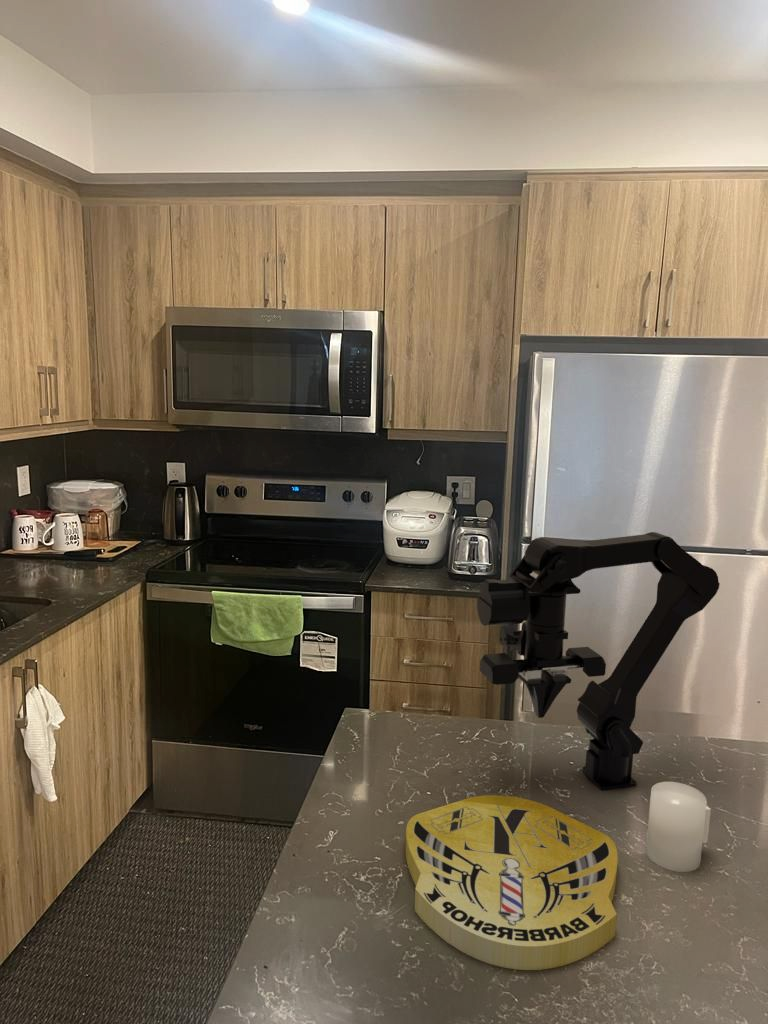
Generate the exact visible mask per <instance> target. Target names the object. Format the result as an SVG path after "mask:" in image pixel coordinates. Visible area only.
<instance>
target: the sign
mask: <svg viewBox="0 0 768 1024" xmlns="http://www.w3.org/2000/svg"><path fill="white" fill-rule="evenodd" d="M405 830H406V831H405V859H406V864H407V867H408V871H409V873H410V875H411V876H410V877H411V879H412V881H413V883H414V884H415V893H414V895H415V897H414V912H415V913H416V914H417V915H418V917H419V918H420V919H421V920H422V921H423V923H425V924H426V926H427V927H429V929H431V931H433V932H434V933H435V934H436V935H438V936H439V938H441V939H442V940H444V941H445V942H446V943H447V944H449V945H450V946H452V947H454V948H455V949H457V950H459V951H460V952H461V953H464V954H466V955H467V956H469V957H470V958H471V957H472V958H474V959H476V960H478V961H481V962H483V963H486V964H489V965H493V966H496V967H499V968H506V969H509V970H511V969H512V970H518V971H522V970H523V971H542V970H547V969H554V968H559V967H562V966H566V965H569V964H572V963H575V962H577V961H580V960H582V959H583V958H585V957H588V956H590V955H591V954H593V953H595V952H597V951H598V950H599V949H601V948H602V947H604V946H605V945H607V944H608V943H609V942H610V941H611V940H613V938H615V937H616V929H617V928H616V926H617V916H618V913H617V912H616V909H615V908H614V905H613V900H614V896H615V890H616V883H617V875H618V874H617V871H618V861H619V856H618V855H619V854H618V851H617V850H618V849H617V847H616V844H615V842H614V841H613V840H612V839H611V837H610V836H608V835H607V834H605V833H603V832H601V831H600V830H597V829H595V828H593V827H591V826H589V825H587V824H585V823H582V822H580V821H579V820H578V819H577V820H576V819H575V818H572V817H571V816H568V815H566V814H564V813H562V812H561V811H558V810H556V809H554V808H552V807H550V806H548V805H546V804H543V803H540V802H538V801H534V800H532V799H531V800H530V799H526V798H522V797H517V796H510V795H500V794H499V795H498V794H496V795H495V794H494V795H493V794H490V795H479V796H473V797H472V796H471V797H468V798H464V799H461V800H458V801H455V802H452V803H451V802H450V803H449V804H444V805H442V806H439V807H436V808H433V809H430V810H426V811H424V812H419V813H417V814H415V815H413V816H412V817H411V818H410V819H409V820H408V822H407V824H406V829H405Z"/></svg>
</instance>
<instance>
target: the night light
mask: <svg viewBox="0 0 768 1024" xmlns="http://www.w3.org/2000/svg"><path fill="white" fill-rule="evenodd" d="M707 801H708V800H707V797H706V795H704V794H703V793H702V792H701V791H700V790H698V789H697V788H695V787H694V786H690V785H689V784H685V783H682V782H677V781H676V782H675V781H662V782H657V783H655V784H653V786H652V787H651V789H650V799H649V809H648V810H649V811H648V822H647V824H648V825H647V832H646V845H645V853H646V855H647V857H648V856H649V857H648V858H649V860H650V861H652V862H653V863H654V862H655V863H654V864H656V865H657V866H659V867H661V868H663V869H665V870H668V871H672V872H677V873H690V872H694V871H696V870H697V869H698V868H699V867H700V865H701V860H702V852H703V851H702V850H703V844H705V843H708V837H709V830H710V821H711V812H712V808H710V807H709V806H708V803H707Z"/></svg>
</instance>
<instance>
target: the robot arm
mask: <svg viewBox="0 0 768 1024" xmlns="http://www.w3.org/2000/svg"><path fill="white" fill-rule="evenodd" d="M644 563H651V564H652V566H653V568H655V570H656V571H657V572H658V573H660V575H661V576H660V578H659V581H658V583H657V586H656V601H655V604H654V606H653V608H652V610H651V611H650V613H649V614H648V616H647V617H646V618H645V620H644V621H643V624H642V625H641V626H640V628H639V630H638V631H637V633H636V634H635V636H634V637H633V639H632V641H631V642H630V644H629V646H628V647H627V649H626V651H625V652H624V653H623V655H622V657H621V658H620V660H619V661H618V663H617V665H616V666H615V667H614V669H613V671H612V673H611V674H610V676H609V677H608V678H607V679H605V680H603V681H601V682H599V683H597V682H596V681H594V680H591V681H589V682H588V684H587V686H586V688H585V691H584V692H583V693H582V694H581V696H580V697H578V698H577V701H578V702H579V703H578V705H577V708H576V714H577V719H578V721H579V723H580V724H581V725H582V726H583V727H584V729H585V732H586V733H587V734H589V736H591V737H592V739H589V744H588V745H589V746H588V749H587V750H586V753H585V754H586V755H585V764H584V765H585V766H582V768H581V769H582V772H584V774H585V775H586V776H587V777H588V778H589V779H590V780H591V781H592V782H593V783H594V784H595V785H596V786H597V787H598V788H599V789H601V790H603V791H604V790H610V789H611V790H612V789H618V788H620V789H621V788H627V787H635V786H637V785H638V783H637V782H638V781H636V779H634V778H633V777H632V774H633V761H634V755H638V754H640V751H641V749H642V746H643V744H644V741H643V740H642V739H641V738H640V737H639V736H638V734H636V733H635V732H634V730H632V728H631V726H632V724H633V722H634V720H635V718H636V709H637V699H638V698H637V697H638V695H639V693H640V691H641V690H642V688H643V687H644V685H645V684H646V682H647V680H648V678H650V676H651V674H652V672H653V671H654V669H655V668H656V666H657V664H658V663H659V661H660V660H661V659H662V657H663V655H664V653H665V652H666V650H667V649H668V647H669V646H670V644H671V643H672V641H673V639H674V638H675V636H676V634H677V632H678V631H679V630H680V628H681V627H682V626H683V623H684V622H686V620H688V619H689V618H690V617H692V616H694V615H696V614H697V613H699V612H701V611H703V610H704V609H705V608H706V606H708V604H709V603H710V602H711V601H712V599H713V598H715V596H716V594H717V593H718V591H719V590H720V585H721V584H720V582H719V575H718V574H717V572H716V570H714V569H713V568H712V567H709V566H707V565H705V564H702V563H701V562H700V561H698V560H697V559H696V558H695V557H693V555H691V554H689V553H688V552H687V550H684V549H683V548H682V547H681V546H680V545H679V544H678V543H677V542H676V541H675V539H674V538H672V537H671V536H667V535H665V534H663V533H659V532H656V531H650V532H647V533H644V534H635V535H625V536H620V537H611V538H602V539H601V538H600V539H592V540H585V541H584V540H583V541H582V540H581V541H580V540H573V539H566V538H560V537H547V536H540V537H536V538H534V539H532V540H531V542H530V543H529V544H528V546H527V548H526V549H525V552H524V555H523V557H522V558H521V560H519V562H518V563H517V565H516V566H515V567H514V569H513V570H512V571H511V573H510V574H509V579H498V580H497V579H494V578H493V579H492V578H491V579H489V578H488V579H484V581H483V587H482V588H481V589H480V591H479V593H478V596H477V598H476V608H477V616H478V619H479V621H480V623H481V624H482V625H483V626H485V627H490V626H491V627H492V626H500V627H499V644H500V645H501V646H504V647H505V646H510V647H509V648H510V651H512V652H513V651H517V654H518V655H519V656H523V657H524V659H523V658H522V659H521V658H520V659H513V658H511V656H509V655H508V654H507V653H506V652H499V653H487V654H485V653H484V655H483V656H482V658H481V659H480V661H479V671H480V673H481V674H482V675H483V676H484V677H485V678H486V679H487V680H488V681H489V682H490V683H491V684H493V685H496V686H497V685H499V686H500V685H510V684H514V683H515V682H516V681H518V679H519V680H520V681H521V682H523V684H524V685H525V686H526V688H527V690H528V693H529V696H530V700H531V703H532V707H533V710H534V712H535V713H534V714H535V716H536V717H537V718H538V719H543V718H545V716H546V714H547V713H548V710H549V709H550V708H551V707H552V704H553V702H554V701H555V700H556V698H557V696H558V695H559V694H560V693H561V691H562V690H563V689H564V687H565V686H566V685H568V684H571V683H572V679H571V678H570V677H569V676H568V669H578V668H582V672H583V673H584V674H585V676H587V677H589V678H590V677H591V678H592V677H601V676H602V677H604V675H606V667H607V666H606V665H607V664H606V661H605V658H604V657H603V656H602V655H601V654H599V653H597V652H596V651H595V650H594V649H592V648H590V647H589V646H584V647H583V646H579V647H569V648H568V649H567V650H566V651H565V655H563V653H564V640H569V639H568V638H569V632H568V631H566V630H565V621H566V620H565V619H566V607H567V595H576V594H577V595H578V594H580V593H581V588H579V587H578V586H577V585H576V584H575V583H574V582H573V579H577V578H579V577H580V576H582V575H583V574H585V573H586V572H589V571H592V570H596V569H597V570H598V569H604V568H605V569H606V568H613V567H614V568H615V567H620V566H621V567H622V566H627V565H628V566H629V565H637V564H644ZM532 573H534V574H536V576H537V577H535V576H533V575H531V574H532ZM518 624H519V625H520V624H522V625H521V630H516V628H515V625H518Z"/></svg>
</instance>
